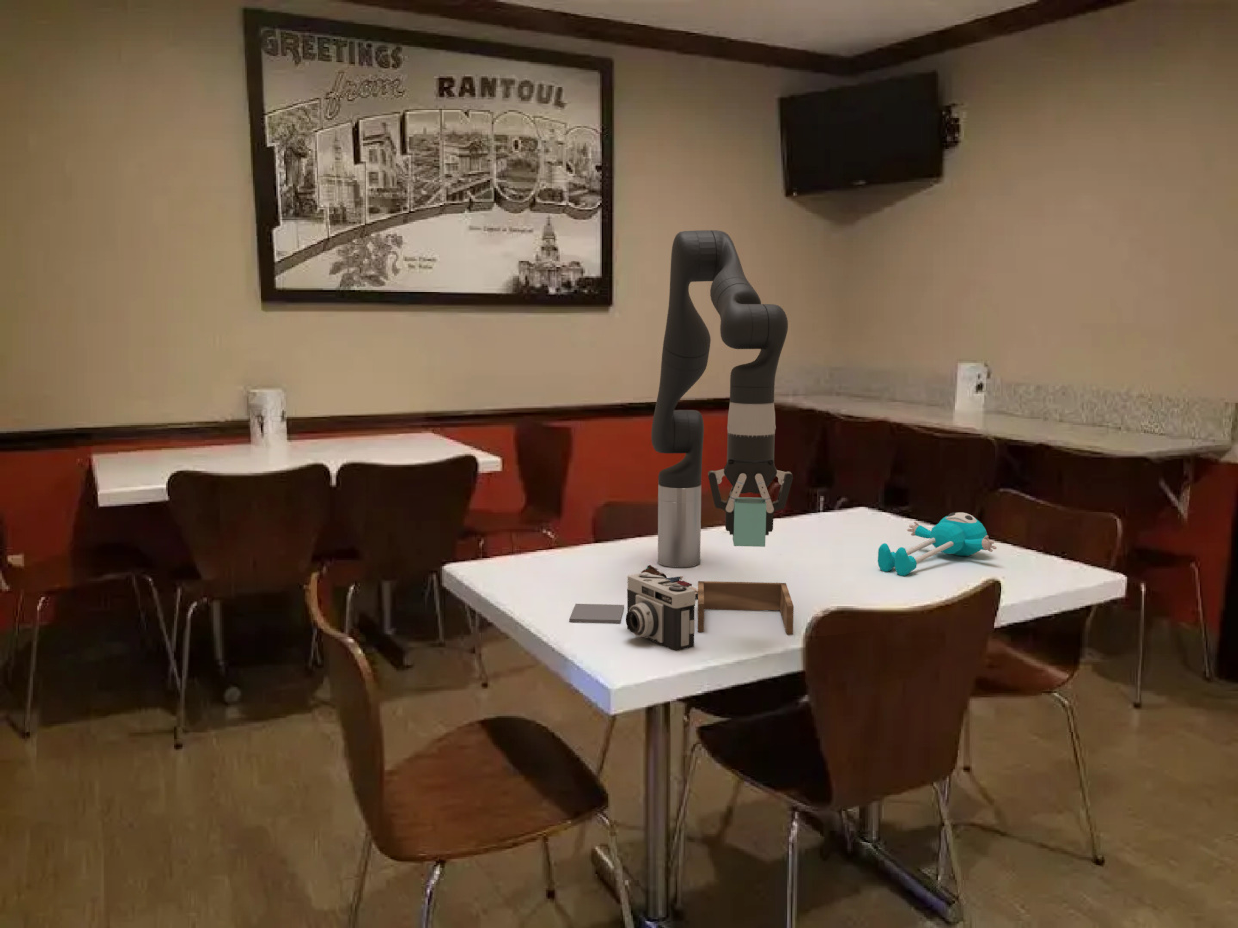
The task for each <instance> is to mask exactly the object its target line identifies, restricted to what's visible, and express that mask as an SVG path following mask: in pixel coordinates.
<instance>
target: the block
mask: <svg viewBox="0 0 1238 928" xmlns="http://www.w3.org/2000/svg"><path fill="white" fill-rule="evenodd" d="M733 510H734V535H732V542H733V543H732V544H733V547H754V548H755V547H756V548H757V547H759V548H760V547H762V548H765V547H766V536H767V535H766V502H763V499H762V497H748V496H747V497H745V496H744V497H741V496H739V497H738V499H737V501H736V502H734V509H733Z"/></svg>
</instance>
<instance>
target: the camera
mask: <svg viewBox="0 0 1238 928" xmlns="http://www.w3.org/2000/svg"><path fill="white" fill-rule="evenodd" d="M670 581H671V580H668V579H665V578H664V577H663V576H658V575H653V574H650V573H647V572H643V573H641V572H639V573H634V574H633V573H632V574H629V575H627V589H626V591H627V593H626V599H627V610H626V611H627V613H626V614H625V615H626V616H625V625H626V628H627V630H629V632H630V633H633V634H634V636H637V637H639V638H640V637H642V638H646V639H648V640H650V641H652V642H654V643H656V644H658V645H661V646H663V647H665V648H667V649H670V650H672V651H673V652H678V651H682V650H686V649H690V648H694V647H695V627H696V626H695V625H696V624H695V621H696V620H695V613H696V612H695V611H696V610H695V606H696V598H695V590H693V589H690V588H688V587H685V586H682V585H680V584H678V583H677V582H675V583H671V582H670Z"/></svg>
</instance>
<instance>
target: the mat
mask: <svg viewBox="0 0 1238 928" xmlns="http://www.w3.org/2000/svg"><path fill="white" fill-rule="evenodd" d="M624 611H625V604H606V603H605V604H603V603H602V604H601V603H575V604H574V607H573V608H572V612H571V614H570V616H569V619H568V620H569V621H568V622H569V623H590V624H592V623H593V624H594V623H595V624H597V623H598V624H621V623H622V619H623V614H624Z"/></svg>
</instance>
